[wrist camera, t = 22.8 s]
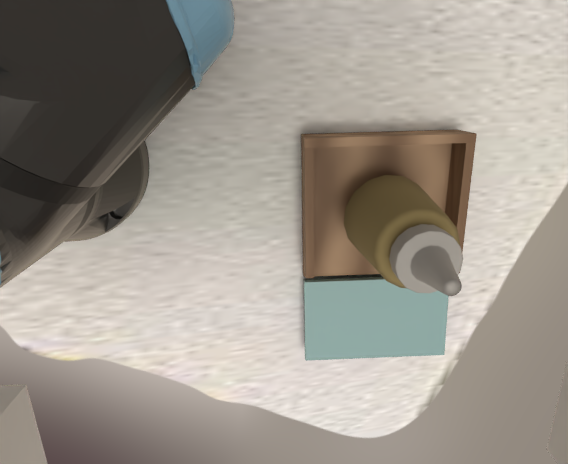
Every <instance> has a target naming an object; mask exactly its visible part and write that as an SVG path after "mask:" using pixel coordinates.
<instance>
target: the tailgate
mask: <svg viewBox="0 0 568 464" xmlns="http://www.w3.org/2000/svg"><path fill="white" fill-rule="evenodd" d="M447 309H448V296H447V295H445V294H443V293H442V292H440V291H436V292H432V293H416V292H414V291H412V290H410V289H408V288H400V287H398V286H396V285H394V284H391V283H389V282H387V281H386V280H385V279H384V278H383V277H364V278H336V279H309V280H304V324H305V360H328V359H353V358H377V357H402V356H426V355H444V351H445V337H446V323H447Z"/></svg>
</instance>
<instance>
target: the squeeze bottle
mask: <svg viewBox="0 0 568 464" xmlns="http://www.w3.org/2000/svg"><path fill="white" fill-rule="evenodd" d="M344 227H345V230H346V233H347V237H348V239H349V240H350V242H351V243H352V244H353V245H354V246H355V247H356V249H357V250H358V251H359V252H360V253H361V254H362V255H363V256H364V257H365V258H366V259H367V261H368V262H369V263H370V264H371V265H372V266H373V267H374V268H375V269H376V270H377V271H378V272H379V273H380V275H381V276H382V277H383V278H384V279H385V280H386V281H387V282H389V283H391V284H394V285H396V286H398V287H400V288H408V289H410V290H412V291H414V292H416V293H432V292H436V291H440V292H442V293H443V294H445V295H447V296H454V295H456V294H457V293H459V291H460V290H461V287H462V285H461V282H460V279H459V277H458V274H459V272H460V270H461V266H462V261H463V255H462V250H461V246H460V240H459V235H458V230H457V228H456V226H455V225H454V224H453V222H452V221H451V220H450V218H449V217H448V216H447V215H446V214H445V212H444V211H443V210H442V209H441V208H440V207H439V206H438V205H437V204H436V203H435V202H434V201H433V200H432V199H431V198H430V196H429V195H428V194H427V193H426V192H425V191H424V190H423V189H422V188H421V187H420V186H419V185H418V184H417V183H415V182H413V181H411V180H409V179H407V178H406V177H404V176H395V175H383V176H380V177H377V178H374V179H371V180H368V181H367V182H366V183H364V184H363V185H362V186H361V187H360V188H358V189H357V190H356V191H355V192H354V193H353V195H352V197H351V199H350V200H349V202H348V204H347V206H346V209H345V216H344Z"/></svg>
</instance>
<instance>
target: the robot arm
mask: <svg viewBox="0 0 568 464" xmlns="http://www.w3.org/2000/svg"><path fill="white" fill-rule="evenodd" d="M233 29H234V9H233V5H232V2H231V0H0V288H1V287H2V286H3V285H5V284H6V283H7V282H9V281H10V280H12V279H13V278H14V277H16V276H17V275H18V274H20V273H21V272H23V271H24V270H25V269H27V268H28V267H29V266H31V265H32V264H33V263H35V262H36V261H38V260H39V259H40V258H42V257H43V256H44V255H46V254H47V253H49V252H50V251H51V250H53V249H54V248H55V247H57V246H58V245H60V244H61V243H62V242H68V241H80V240H86V239H91V238H94V237H97V236H100V235H102V234H105V233H107V232H109V231H110V230H112V229H114V228H115V227H117V226H118V225H119V224H120V223H122V222H123V221H124V220H125V219H126V218H127V217H128V216H129V215H130V214H131V213H132V212H133V211H134V210H135V209H136V207H137V206H138V204H139V203H140V201H141V199H142V197H143V195H144V192H145V190H146V186H147V182H148V176H149V160H148V153H147V148H146V145H145V142H144V140H145V139H146V138H147V137H148V136H149V134H150V133H151V132H152V131H153V130H154V129H155V128H156V127H157V126H158V125H159V123H160V122H161V121H162V120H163V119H164V118H165V117H166V116H167V115H168V114H169V113H170V111H171V110H172V109H173V108H174V107H175V106H176V105H177V104H178V103H179V102H180V100H181V99H182V98H183V97H184V96H185V95H186V94H187V93H188V92H189V91H190V89H192V90H195V89H196V88H197V87H199V85H200V82H201V80H202V76H203V75H204V73H205V72H206V71H207V70H208V69H209V67H210V66H211V65H212V64H213V63H214V61H215V60H216V59H217V58H218V57H219V55H220V54H221V53H222V52H223V51H224V49H225V48H226V47H227V45H228V44H229V42H230V40H231V38H232V35H233ZM547 451H548V452H549V453H550V455H551V456H552V457H553V459H554V460H555V461H556V463H557V464H568V362H566V365H565V370H564V374H563V379H562V383H561V388H560V392H559V396H558V401H557V406H556V410H555V415H554V419H553V423H552V427H551V432H550V436H549V441H548V446H547ZM0 464H47V461H46V457H45V453H44V449H43V446H42V442H41V438H40V434H39V431H38V427H37V423H36V419H35V416H34V412H33V408H32V405H31V401H30V397H29V393H28V389H27V386H26V385H2V386H0Z"/></svg>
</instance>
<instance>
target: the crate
mask: <svg viewBox="0 0 568 464" xmlns="http://www.w3.org/2000/svg"><path fill="white" fill-rule="evenodd" d="M475 142H476V133H471V132H466V131H461V130H430V131H395V132H360V133H325V134H301V151H302V238H303V276H304V277H306V278H314V276H336V275H364V274H380V273H379V272H378V271H377V270H376V269H375V268H374V267H373V266H372V265H371V264H370V263H369V262H368V261H367V259H366V258H365V257H364V256H363V255H362V254H361V253H360V252H359V251H358V250H357V249H356V247H355V246H354V245H353V244H352V243H351V242H350V240H349V239H348V237H347V233H346V230H345V227H344V216H345V209H346V206H347V204H348V202H349V200H350V199H351V197H352V195H353V193H354V192H355V191H356V190H357V189H358V188H360V187H361V186H362V185H363V184H364V183H366V182H367V181H368V180H371V179H374V178H377V177H380V176H383V175H395V176H404V177H406V178H407V179H409V180H411V181H413V182H415V183H417V184H418V185H419V186H420V187H421V188H422V189H423V190H424V191H425V192H426V193H427V194H428V195H429V196H430V198H431V199H432V200H433V201H434V202H435V203H436V204H437V205H438V206H439V207H440V208H441V209H442V210H443V211H444V212H445V214H446V215H447V216H448V217H449V218H450V220H451V221H452V222H453V224H454V225H455V226H456V228H457V230H458V235H459V240H460V246H461V250H462V251H463V242H464V234H465V225H466V217H467V209H468V200H469V192H470V184H471V175H472V167H473V158H474V150H475ZM459 273H460V272H459Z"/></svg>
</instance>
